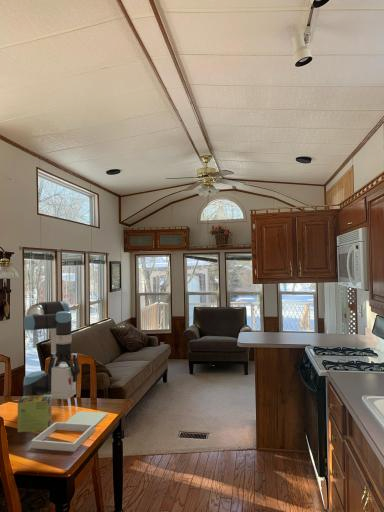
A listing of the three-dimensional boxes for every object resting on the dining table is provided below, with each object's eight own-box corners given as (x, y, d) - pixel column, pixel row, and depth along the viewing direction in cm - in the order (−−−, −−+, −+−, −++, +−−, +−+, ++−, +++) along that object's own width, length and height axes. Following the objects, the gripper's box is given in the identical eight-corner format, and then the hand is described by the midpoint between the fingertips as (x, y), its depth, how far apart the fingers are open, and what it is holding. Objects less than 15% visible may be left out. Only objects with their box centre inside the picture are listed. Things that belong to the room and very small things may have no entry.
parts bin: (31, 448, 183) (31, 440, 183) (55, 428, 205) (55, 421, 205) (74, 451, 179) (74, 444, 179) (94, 431, 201) (94, 424, 201)
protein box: (48, 430, 203) (48, 400, 203) (17, 432, 200) (17, 402, 201) (52, 422, 213) (51, 394, 214) (22, 424, 211) (22, 395, 211)
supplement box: (67, 399, 187) (67, 368, 187) (50, 398, 189) (50, 368, 189) (76, 393, 196) (76, 363, 196) (60, 392, 198) (60, 363, 198)
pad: (63, 425, 208) (63, 423, 208) (78, 413, 226) (78, 411, 226) (94, 427, 205) (94, 425, 205) (107, 414, 223) (107, 413, 223)
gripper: (39, 343, 191) (39, 389, 191) (80, 344, 187) (80, 391, 187) (48, 340, 199) (48, 384, 198) (87, 341, 195) (87, 386, 194)
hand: (64, 388), depth 193 cm, fingers closed on supplement box, 9 cm apart
